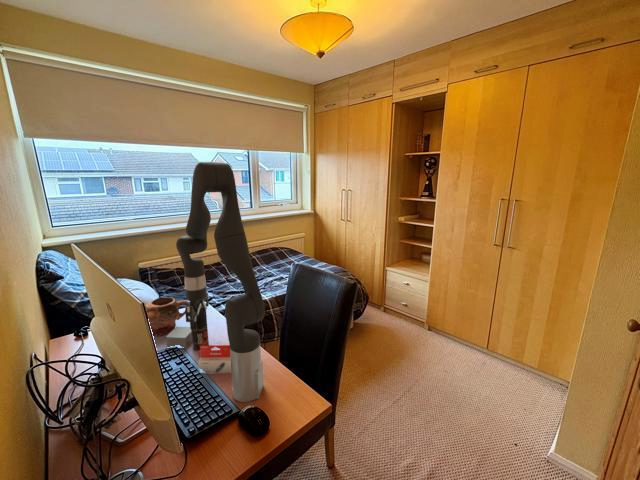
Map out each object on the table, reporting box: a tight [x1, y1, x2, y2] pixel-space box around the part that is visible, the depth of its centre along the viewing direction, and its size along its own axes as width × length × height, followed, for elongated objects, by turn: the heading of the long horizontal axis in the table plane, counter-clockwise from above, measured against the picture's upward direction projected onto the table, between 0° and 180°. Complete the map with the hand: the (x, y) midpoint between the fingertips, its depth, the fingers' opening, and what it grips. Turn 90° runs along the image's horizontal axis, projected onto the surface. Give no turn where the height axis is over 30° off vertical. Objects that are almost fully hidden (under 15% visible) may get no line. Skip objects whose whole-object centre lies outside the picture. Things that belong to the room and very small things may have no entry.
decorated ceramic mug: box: [145, 296, 190, 336], centre depth 127 cm, size 20×12×14 cm, turn 131°
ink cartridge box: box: [198, 344, 231, 374], centre depth 101 cm, size 2×11×10 cm, turn 93°
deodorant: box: [191, 309, 210, 352], centre depth 115 cm, size 6×6×15 cm
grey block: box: [165, 326, 193, 350], centre depth 118 cm, size 8×8×5 cm
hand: (199, 323), depth 114 cm, fingers open, 8 cm apart
